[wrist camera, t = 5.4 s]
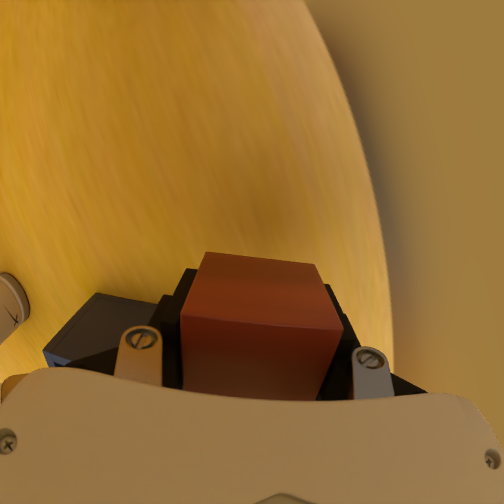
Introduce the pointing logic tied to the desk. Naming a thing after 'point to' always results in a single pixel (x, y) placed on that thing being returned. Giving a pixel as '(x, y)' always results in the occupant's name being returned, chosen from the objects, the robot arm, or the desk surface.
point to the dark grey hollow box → (96, 328)
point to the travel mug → (11, 306)
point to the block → (257, 329)
